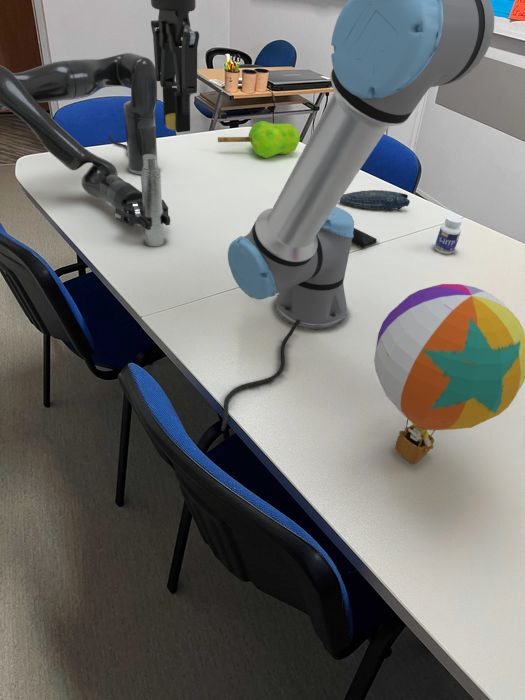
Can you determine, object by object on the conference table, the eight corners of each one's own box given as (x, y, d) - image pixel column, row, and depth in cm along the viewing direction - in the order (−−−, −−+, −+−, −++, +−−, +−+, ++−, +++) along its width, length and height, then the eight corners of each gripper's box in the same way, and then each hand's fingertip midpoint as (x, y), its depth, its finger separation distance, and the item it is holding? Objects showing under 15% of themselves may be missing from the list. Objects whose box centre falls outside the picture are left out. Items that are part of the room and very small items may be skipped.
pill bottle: (433, 251, 139) (442, 220, 133) (435, 243, 143) (444, 213, 137) (453, 256, 138) (464, 225, 132) (454, 247, 142) (465, 217, 136)
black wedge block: (381, 233, 141) (372, 211, 133) (369, 255, 140) (359, 235, 132) (344, 225, 147) (334, 203, 139) (333, 246, 146) (321, 226, 138)
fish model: (408, 214, 157) (412, 198, 153) (339, 207, 158) (341, 191, 154) (406, 206, 162) (410, 190, 159) (339, 199, 163) (341, 183, 160)
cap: (161, 125, 101) (160, 114, 100) (178, 122, 104) (178, 111, 102) (175, 131, 99) (174, 120, 98) (192, 128, 101) (192, 117, 100)
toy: (323, 444, 83) (359, 283, 64) (398, 394, 94) (448, 243, 75) (425, 531, 72) (504, 368, 53) (497, 463, 83) (584, 307, 64)
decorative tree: (215, 117, 188) (295, 117, 193) (215, 147, 195) (292, 146, 200) (221, 131, 174) (307, 131, 180) (221, 163, 181) (304, 161, 186)
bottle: (156, 236, 134) (151, 151, 121) (167, 242, 132) (163, 156, 119) (141, 241, 132) (135, 155, 118) (153, 248, 129) (147, 160, 116)
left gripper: (99, 190, 130) (131, 215, 120) (150, 180, 138) (184, 203, 128) (102, 218, 135) (133, 244, 125) (151, 207, 142) (184, 231, 132)
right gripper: (219, -13, 83) (216, 138, 98) (168, -24, 94) (173, 114, 108) (177, -14, 80) (181, 143, 94) (129, -25, 90) (139, 117, 105)
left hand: (158, 223), depth 126 cm, fingers closed on bottle, 4 cm apart
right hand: (177, 127), depth 101 cm, fingers closed on cap, 4 cm apart
